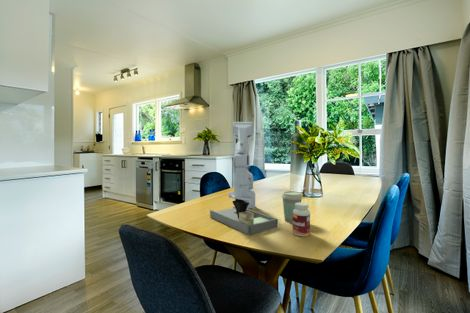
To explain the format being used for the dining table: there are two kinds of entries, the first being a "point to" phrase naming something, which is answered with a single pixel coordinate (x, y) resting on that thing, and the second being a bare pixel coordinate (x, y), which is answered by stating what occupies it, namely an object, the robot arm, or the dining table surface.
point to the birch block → (246, 217)
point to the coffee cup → (290, 204)
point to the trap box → (232, 220)
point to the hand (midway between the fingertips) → (240, 218)
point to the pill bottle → (301, 220)
